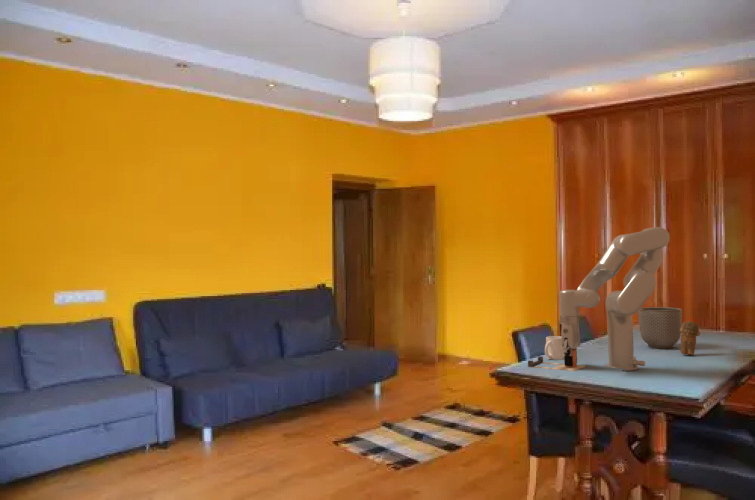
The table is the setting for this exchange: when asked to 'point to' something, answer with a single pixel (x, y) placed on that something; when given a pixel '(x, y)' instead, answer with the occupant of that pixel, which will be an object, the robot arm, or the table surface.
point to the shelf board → (560, 367)
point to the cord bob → (573, 358)
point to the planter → (660, 326)
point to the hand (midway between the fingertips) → (570, 364)
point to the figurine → (688, 337)
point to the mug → (554, 348)
